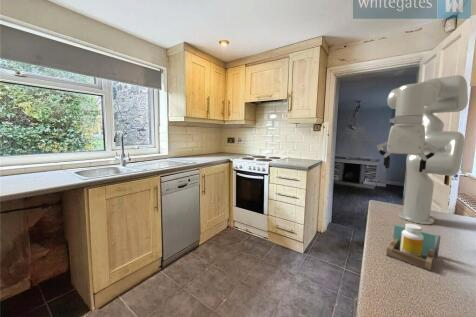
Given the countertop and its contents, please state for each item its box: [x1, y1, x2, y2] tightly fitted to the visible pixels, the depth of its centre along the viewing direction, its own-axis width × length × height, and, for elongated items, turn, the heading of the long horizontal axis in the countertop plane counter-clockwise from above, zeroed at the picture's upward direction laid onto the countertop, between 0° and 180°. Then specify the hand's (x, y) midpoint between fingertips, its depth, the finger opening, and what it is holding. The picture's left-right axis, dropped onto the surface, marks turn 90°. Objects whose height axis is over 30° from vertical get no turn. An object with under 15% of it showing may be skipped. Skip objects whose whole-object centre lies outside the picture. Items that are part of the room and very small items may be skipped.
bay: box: [386, 237, 435, 272], centre depth 67 cm, size 10×10×2 cm
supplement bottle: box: [400, 223, 424, 258], centre depth 66 cm, size 5×5×10 cm
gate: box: [392, 224, 442, 259], centre depth 70 cm, size 1×12×7 cm, turn 44°
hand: (403, 169), depth 75 cm, fingers open, 9 cm apart
